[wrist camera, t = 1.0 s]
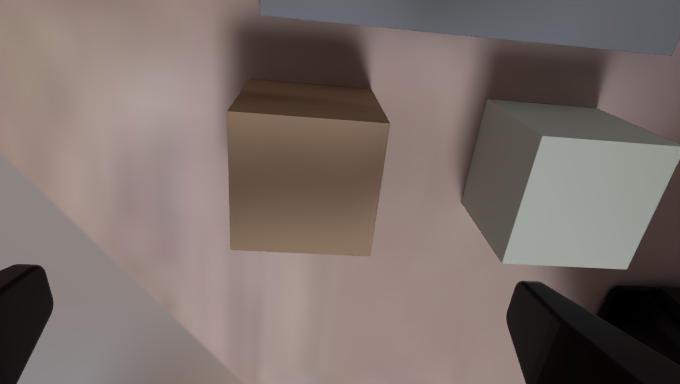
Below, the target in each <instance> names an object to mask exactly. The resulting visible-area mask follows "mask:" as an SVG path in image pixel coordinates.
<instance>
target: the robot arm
mask: <svg viewBox="0 0 680 384" xmlns="http://www.w3.org/2000/svg"><path fill="white" fill-rule="evenodd" d="M52 309H53V297H52V294H51V290H50V287H49V283H48V279H47V276H46V272H45V270H44V269H43V267H41V266H39V265H30V264H16V265H12V266H10V267H8V268H5V269H3V270H1V271H0V384H17V382H18V380H19V378H20V376H21V374H22V372H23V370H24V368H25V366H26V364H27V362H28V360H29V357H30V356H31V354H32V351H33V350H34V348H35V345H36V344H37V341H38V340H39V338H40V336H41V334H42V332H43V329H44V327H45V325H46V323H47V321H48V319H49V317H50V315H51V313H52ZM506 318H507V325H508V329H509V332H510V335H511V338H512V341H513V344H514V348H515V351H516V354H517V357H518V360H519V363H520V366H521V370H522V373H523V376H524V379H525V382H526V384H680V288H669V287H639V286H616V287H614V288H613V289H611V290H610V292H609V294H608V296H607V298H606V300H605V302H604V304H603V306H602V308H601V311H600V313H599V315H598V316H596V315H595V314H593V313H591V312H590V311H588V310H586V309H585V308H583V307H581V306H580V305H578V304H576V303H575V302H573V301H571V300H570V299H568V298H566V297H565V296H563V295H561V294H560V293H558V292H556V291H555V290H553V289H552V288H550V287H548V286H547V285H545V284H543V283H541V282H538V281H520V282H518V283H517V285H516V287H515V289H514V292H513V295H512V298H511V301H510V304H509V307H508V310H507V316H506Z"/></svg>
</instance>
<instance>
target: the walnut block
mask: <svg viewBox="0 0 680 384" xmlns="http://www.w3.org/2000/svg"><path fill="white" fill-rule="evenodd" d="M227 125H228V166H229V206H230V247H231V250H247V251H268V252H289V253H310V254H331V255H352V256H370V255H371V248H372V241H373V234H374V228H375V221H376V214H377V208H378V201H379V194H380V187H381V181H382V174H383V167H384V160H385V154H386V147H387V140H388V134H389V127H390V123H389V121H388V119H387V117H386V115H385V113H384V112H383V110H382V108H381V106H380V104H379V102H378V101H377V99H376V97H375V95H374V93H373V91H372V90H371V89H364V88H352V87H340V86H328V85H316V84H304V83H292V82H279V81H267V80H255V79H250V80H249V81H248V83H247V84H246V85H245V87H244V88H243V90H242V91H241V92H240V94H239V95H238V97H237V98H236V99H235V101H234V102H233V104H232V105H231V106H230V108H229V109H228V111H227Z"/></svg>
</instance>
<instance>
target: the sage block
mask: <svg viewBox="0 0 680 384" xmlns="http://www.w3.org/2000/svg"><path fill="white" fill-rule="evenodd" d="M679 160H680V144H677V143H675V142H673V141H671V140H668V139H666V138H664V137H661V136H659V135H657V134H655V133H652V132H650V131H648V130H645V129H643V128H641V127H638V126H636V125H634V124H632V123H629V122H627V121H625V120H622V119H620V118H618V117H616V116H613V115H611V114H609V113H606V112H604V111H602V110H600V109H597V108H586V107H575V106H563V105H551V104H539V103H527V102H516V101H504V100H492V99H487V100H486V104H485V108H484V113H483V117H482V121H481V125H480V129H479V133H478V137H477V141H476V145H475V149H474V153H473V157H472V161H471V165H470V169H469V173H468V177H467V181H466V185H465V189H464V193H463V197H462V201H461V203H462V204H463V206H464V207H465V209H466V210H467V212H468V213H469V215H470V216H471V218H472V219H473V221H474V222H475V224H476V225H477V227H478V228H479V230H480V231H481V233H482V234H483V236H484V237H485V239H486V240H487V242H488V243H489V245H490V246H491V248H492V249H493V251H494V252H495V254H496V255H497V257H498V258H499V260H500V261H501V263H505V264H525V265H545V266H565V267H586V268H606V269H626V270H627V268H628V266H629V264H630V262H631V260H632V258H633V256H634V254H635V251H636V249H637V247H638V245H639V243H640V241H641V239H642V237H643V235H644V233H645V231H646V228H647V226H648V224H649V222H650V220H651V218H652V216H653V214H654V212H655V210H656V208H657V206H658V203H659V201H660V199H661V197H662V195H663V193H664V191H665V189H666V187H667V185H668V183H669V180H670V178H671V176H672V174H673V172H674V170H675V168H676V166H677V164H678V162H679Z"/></svg>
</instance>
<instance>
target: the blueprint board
mask: <svg viewBox="0 0 680 384" xmlns="http://www.w3.org/2000/svg"><path fill="white" fill-rule="evenodd" d="M260 16H269V17H280V18H290V19H300V20H310V21H320V22H331V23H341V24H351V25H361V26H372V27H382V28H392V29H402V30H412V31H423V32H433V33H443V34H453V35H463V36H474V37H484V38H494V39H504V40H515V41H525V42H535V43H545V44H555V45H566V46H576V47H586V48H596V49H607V50H617V51H627V52H637V53H647V54H658V55H668V56H672V54H673V52H674V50H675V47H676V45H677V42H678V40H679V38H680V0H260Z"/></svg>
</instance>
